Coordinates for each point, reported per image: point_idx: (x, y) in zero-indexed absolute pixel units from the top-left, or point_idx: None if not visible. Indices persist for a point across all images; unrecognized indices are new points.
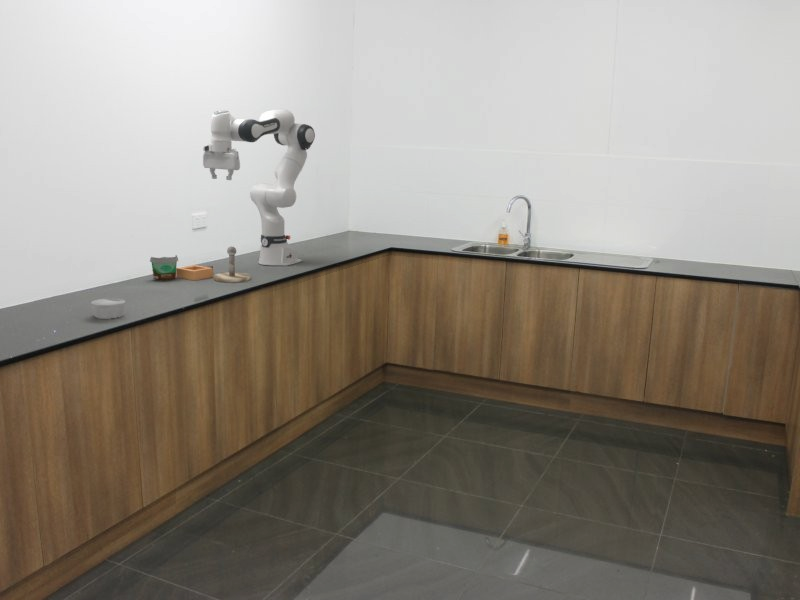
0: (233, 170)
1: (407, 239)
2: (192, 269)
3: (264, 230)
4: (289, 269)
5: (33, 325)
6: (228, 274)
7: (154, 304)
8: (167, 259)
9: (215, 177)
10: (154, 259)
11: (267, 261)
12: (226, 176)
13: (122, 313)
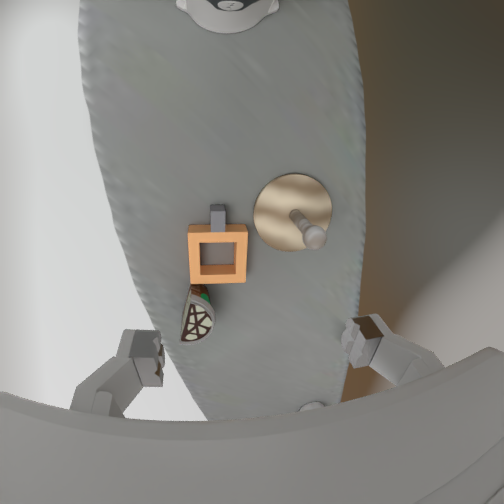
0: (443, 366)
1: None
2: (199, 248)
3: None
4: (313, 41)
5: None
6: (279, 210)
7: (315, 375)
8: (212, 330)
9: (158, 349)
10: (192, 342)
11: (238, 27)
12: (353, 364)
13: (322, 404)
